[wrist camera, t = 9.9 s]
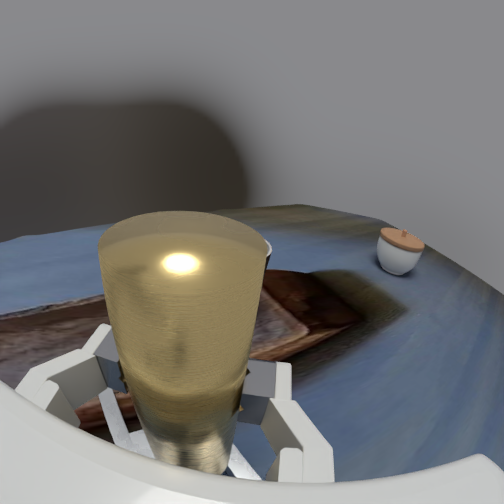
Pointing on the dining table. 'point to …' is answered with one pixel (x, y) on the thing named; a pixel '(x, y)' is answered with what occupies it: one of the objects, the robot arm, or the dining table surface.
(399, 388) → the dining table surface
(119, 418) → the rack rail
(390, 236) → the lidded jar
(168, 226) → the tall brass rod
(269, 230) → the dining table surface
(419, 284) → the dining table surface
